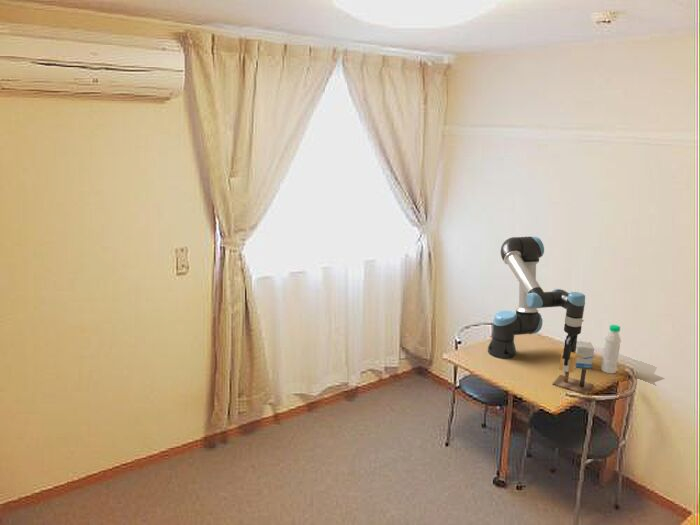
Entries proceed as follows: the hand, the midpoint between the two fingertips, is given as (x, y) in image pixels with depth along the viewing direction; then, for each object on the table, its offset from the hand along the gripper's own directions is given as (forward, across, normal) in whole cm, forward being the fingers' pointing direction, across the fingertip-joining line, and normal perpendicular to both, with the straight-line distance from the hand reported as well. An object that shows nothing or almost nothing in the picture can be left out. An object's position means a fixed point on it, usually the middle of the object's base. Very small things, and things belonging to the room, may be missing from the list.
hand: (567, 368), depth 254 cm
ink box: (+8, +27, 0) cm, 28 cm away
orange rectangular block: (0, 0, 0) cm, 0 cm away
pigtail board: (+8, 0, -4) cm, 9 cm away
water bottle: (+8, +28, -14) cm, 32 cm away
